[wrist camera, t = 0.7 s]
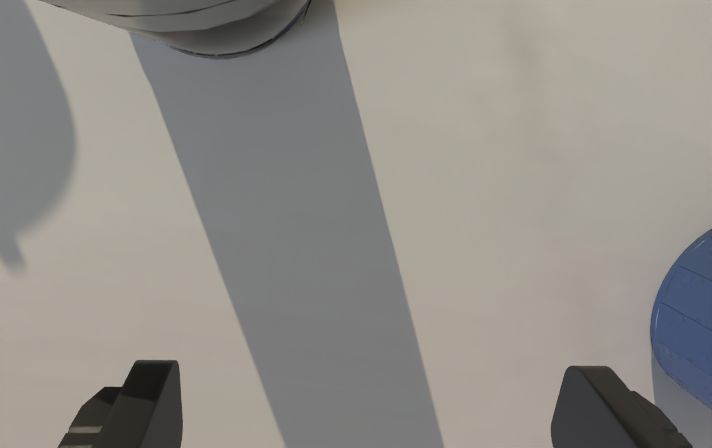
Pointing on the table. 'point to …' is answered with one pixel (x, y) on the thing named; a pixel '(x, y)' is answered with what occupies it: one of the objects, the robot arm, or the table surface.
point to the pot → (687, 320)
